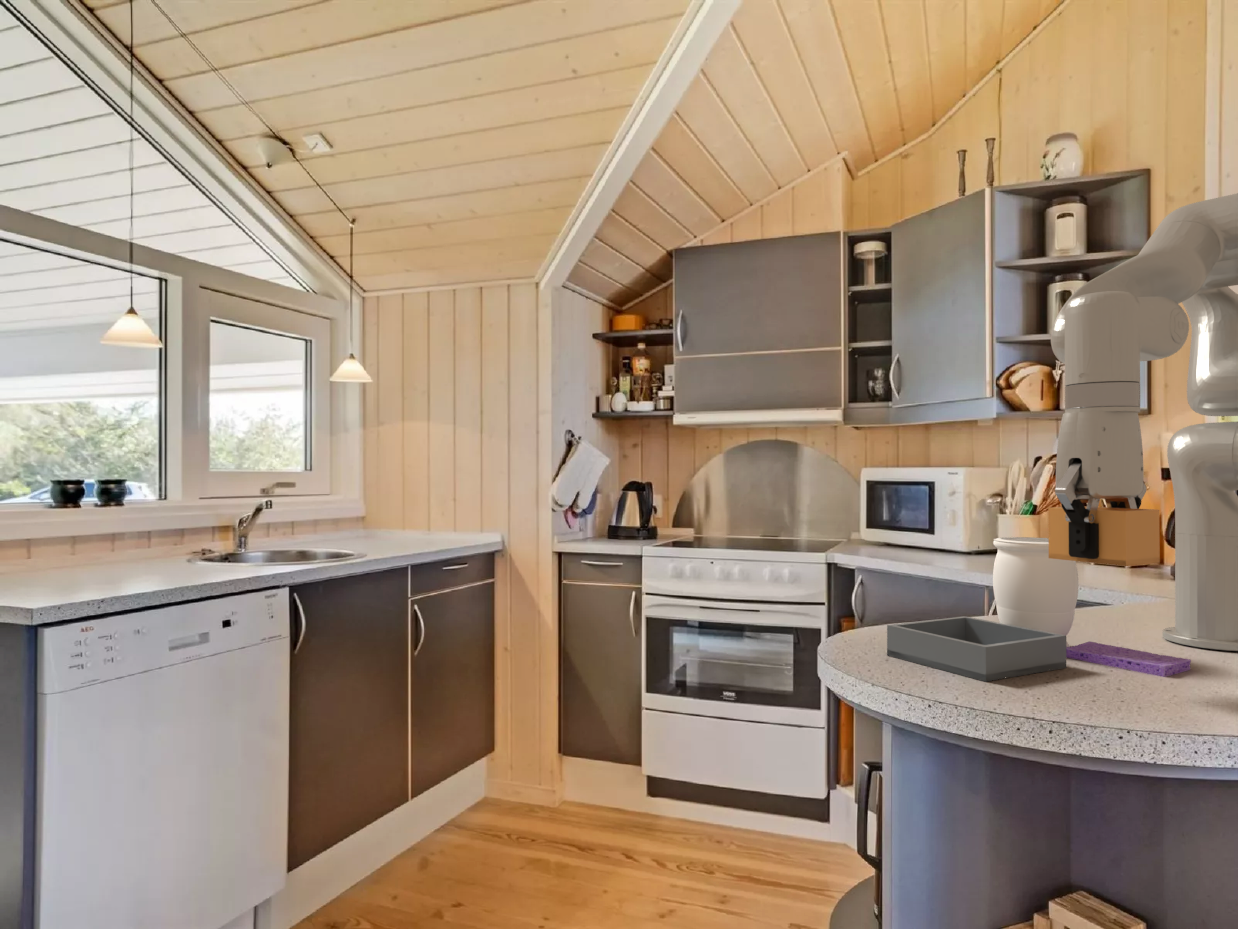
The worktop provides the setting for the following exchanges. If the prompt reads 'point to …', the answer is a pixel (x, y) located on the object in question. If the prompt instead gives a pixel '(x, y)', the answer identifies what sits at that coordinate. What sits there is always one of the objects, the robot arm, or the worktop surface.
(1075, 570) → the jar
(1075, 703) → the worktop surface
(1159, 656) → the sponges
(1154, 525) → the small crate
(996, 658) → the grey square tray
